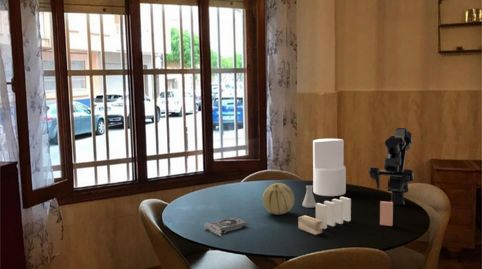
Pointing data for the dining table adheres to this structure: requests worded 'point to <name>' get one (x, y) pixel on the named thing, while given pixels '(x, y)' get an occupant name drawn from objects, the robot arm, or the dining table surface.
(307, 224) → the block
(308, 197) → the flask
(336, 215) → the domino
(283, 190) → the cantaloupe
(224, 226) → the graphics card
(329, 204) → the domino
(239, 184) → the dining table surface
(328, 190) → the cylinder
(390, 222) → the domino
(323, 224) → the domino
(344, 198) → the domino
